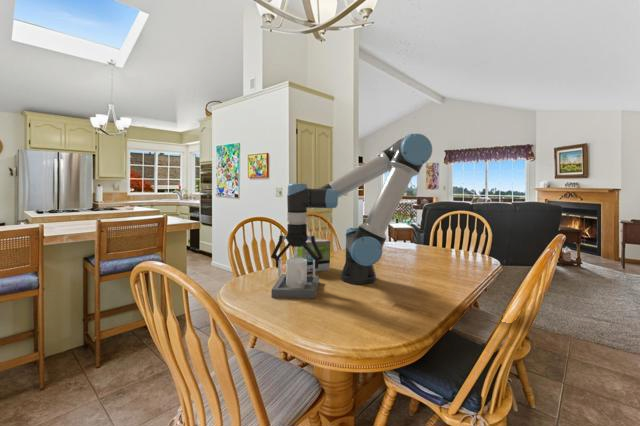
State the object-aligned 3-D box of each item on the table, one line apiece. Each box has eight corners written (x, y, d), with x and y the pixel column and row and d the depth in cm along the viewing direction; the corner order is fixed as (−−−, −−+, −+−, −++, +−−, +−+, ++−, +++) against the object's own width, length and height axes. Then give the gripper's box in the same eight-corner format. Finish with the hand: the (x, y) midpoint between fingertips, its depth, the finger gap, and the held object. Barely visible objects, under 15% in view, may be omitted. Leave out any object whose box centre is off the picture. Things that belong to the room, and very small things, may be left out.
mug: (313, 290, 125) (313, 263, 124) (293, 293, 122) (293, 265, 121) (302, 281, 136) (302, 257, 135) (283, 283, 133) (283, 258, 132)
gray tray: (318, 282, 139) (319, 275, 139) (314, 298, 119) (314, 290, 119) (281, 281, 140) (281, 274, 140) (271, 297, 120) (271, 289, 120)
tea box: (302, 274, 151) (302, 242, 150) (293, 268, 160) (293, 239, 159) (330, 270, 158) (330, 240, 157) (320, 265, 167) (321, 237, 166)
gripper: (329, 222, 130) (328, 274, 132) (267, 221, 132) (268, 272, 134) (328, 224, 122) (328, 280, 124) (263, 223, 124) (263, 278, 126)
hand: (297, 276), depth 129 cm, fingers open, 13 cm apart
